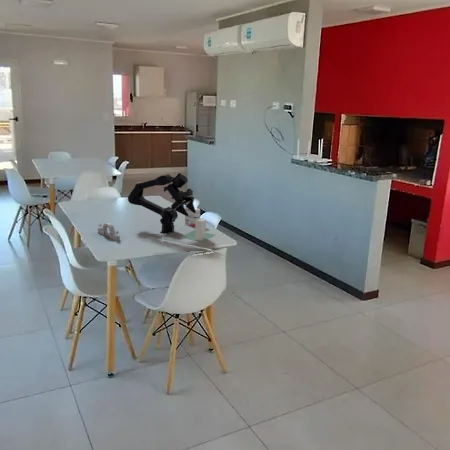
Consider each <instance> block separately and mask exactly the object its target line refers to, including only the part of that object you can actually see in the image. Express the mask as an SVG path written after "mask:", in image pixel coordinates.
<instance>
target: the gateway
mask: <svg viewBox="0 0 450 450" xmlns="http://www.w3.org/2000/svg"><path fill="white" fill-rule="evenodd" d="M98 226H99V227H97V233H98V234H101V235H103V236H106V237H109V239H110V240H113V241H114V242H118V240H119V241H121V236H120V235H119V232H120V231H118V230H116V229H115V227H114V225H113V224H112V223H110V222H106V223H104V224H102V223H98ZM108 229H109V230H108ZM108 231H109V232H108Z"/></svg>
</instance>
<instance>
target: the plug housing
mask: <svg viewBox="0 0 450 450" xmlns="http://www.w3.org/2000/svg"><path fill="white" fill-rule="evenodd" d="M206 230H207V219H204V218H200V219H198V220H196V222H195V226H194V231H195V240H194V241H196V240H199V241H198V242H201V240H203V239H205V233H207V232H206Z"/></svg>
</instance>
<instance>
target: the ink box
mask: <svg viewBox="0 0 450 450" xmlns="http://www.w3.org/2000/svg"><path fill="white" fill-rule="evenodd" d="M194 208H195V211H196V213H193V212H192V211H191V210H189V209H188V208H187V207H186V206H185V210H186V212H187V213H188V216H185V215H184V226H191V227H195V222H196V220H198V219H201V209H200V208H198V207H194Z"/></svg>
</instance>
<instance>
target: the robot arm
mask: <svg viewBox="0 0 450 450" xmlns="http://www.w3.org/2000/svg"><path fill="white" fill-rule="evenodd" d="M188 182H189V181H188V178H187V177H186V176H185V175H184V174H182V173H181V172H179V173H177V175H175V177H174V176H172V175H171V174H169V173H167V174H163V175H160V176H158V177H156V178H155V179H154V178H153V179H151V180H147V181H142V182H139V183H136V184H135V186H134V188H133V189H132V190H131V192H130V193H129V195H128V197H127V201H128V202H129V204H131V205H135V206H141V207H143V208H145V209H148V210H150V211H152V212H154V213H155V214H157V215H159V216H160V217H161V219H160V220H159V222H160V224H161V231H160V234H164V235H168V234H171V233H175V225H174V224H175V222H176V220H177V219H178V217H179V215H178V214H181V215H183V216H184V217H185V216H188V213H187V212H186V207H187V208H188V209H189V210H191V211H192V212H193V213H196V211H195V208H196V207H195V206H194V201H195V197H194V196H193V195H194V194H193V193H194V191H193V189H192V188H188V189H186V191H183V190H180V189H181V188H183V187H184V185H186V184H187V183H188ZM166 185H167V186H166ZM155 186H164V187H163V192H164V193H165V192H168V194H169V195H170V196H171V199H172V200H174V202H173V203H172V204H171V205H170V206H167V207H165V208H164V207H162V206H160V205H159V204H156V203H154V202H152V201H150V200H148V199H146V198H145V197H144V189H147V188H151V187H155Z"/></svg>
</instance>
